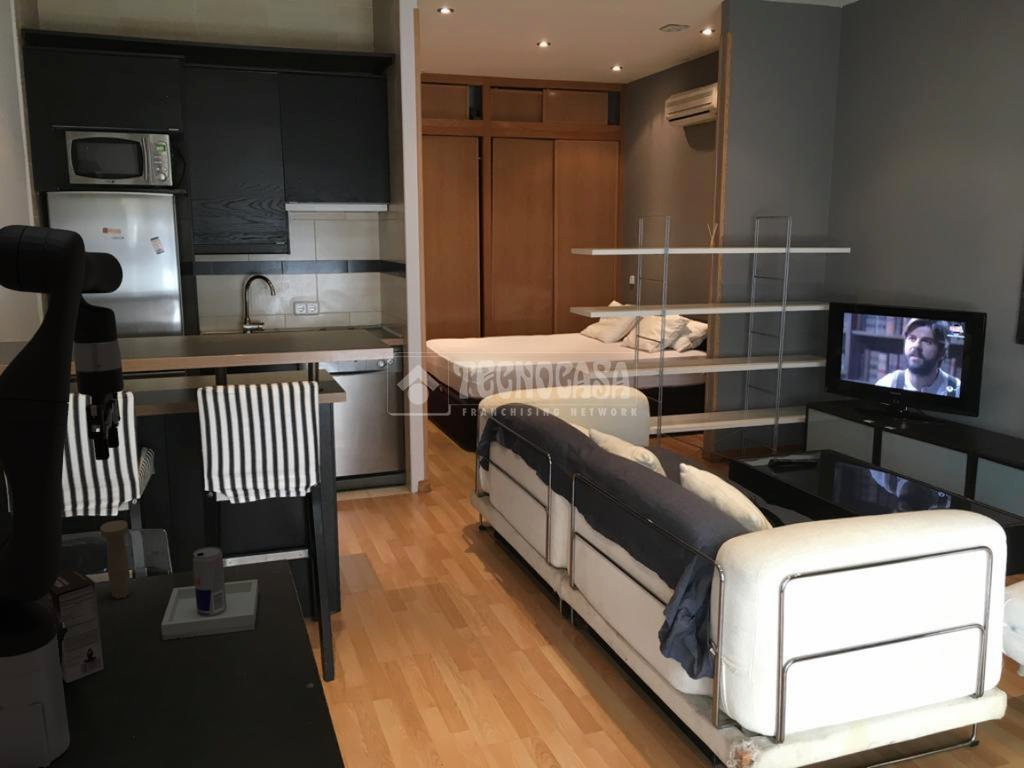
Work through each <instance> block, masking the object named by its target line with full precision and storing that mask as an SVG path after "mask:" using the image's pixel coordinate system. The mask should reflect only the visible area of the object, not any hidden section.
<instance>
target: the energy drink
mask: <svg viewBox="0 0 1024 768" xmlns="http://www.w3.org/2000/svg"><path fill="white" fill-rule="evenodd" d="M192 554H193V555H192V569H193V579H194V586H195V593H196V604H197V612H198V613H199V614H200V615H202V616H215V615H218V614H220V613H222V612H224V610H225V609H226V594H225V583H226V582H225V572H224V570H225V569H224V560H223V552H222V550H221V548H220V547H217V546H207V547H202V548H199V549H196V550H195V551H194V552H193V553H192Z"/></svg>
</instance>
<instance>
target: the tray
mask: <svg viewBox="0 0 1024 768" xmlns="http://www.w3.org/2000/svg"><path fill="white" fill-rule="evenodd" d="M258 584H259V583H258V579H257V578H256V579H248V580H239V581H230V582H225V594H226V609H225V610H224V612H222V613H220V614H218V615H215V616H202V615H200V614H199V613H198V612H197V604H196V593H195V585H192V586H185V587H184V586H183V587H173V589H172V592H171V594H170V598H169V600H168V605H167V606H166V609H165V613H164V617H163V618H162V621H161V625H160V626H161V638H162V641H169V639H171V640H177V638H180V639H188V638H195V637H194V636H196V637H203V636H212V635H218V634H219V635H220V634H228V633H236V632H244V631H252V630H255V628H256V619H257V609H258V601H259V598H258V597H259V585H258ZM187 637H188V638H187Z"/></svg>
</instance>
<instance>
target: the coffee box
mask: <svg viewBox="0 0 1024 768" xmlns="http://www.w3.org/2000/svg"><path fill="white" fill-rule="evenodd" d="M96 591H97V590H96V581H94V580H92V579H91V578H90V577H89V576H87V575H86V574H85V573H83V572H82V571H81V570H79V569H78V568H77V567H76V566H73V567H72V568H68V569H65V570H62V571H59V574H58V577H57V580H56V582H55V584H54V586H53V587H52V589H51V590H50V591H49V592H48V593H47V595H48V598H49V601H50V604H51V607H52V609H53V610H54V612H55V613H56V615H57V618H58V620H59V622H60V623H64V624H65V625H64V626H66V627H67V628H66V629H67V630H68V631H67V632H66V634H64V635H65V636H64V638H63V639H64V640H63V641H62V663H61V673H62V681H64V682H65V683H67V684H69V683H71V682H75V681H77V680H80V679H82V678H84V677H87V676H90V675H92V674H94V673H97V672H99V671H102V670H104V669H105V668H104V659H103V650H102V649H103V648H102V647H103V646H102V641H101V630H100V619H99V612H98V610H99V609H98V602H97V601H98V599H97V592H96Z"/></svg>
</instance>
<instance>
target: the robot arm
mask: <svg viewBox="0 0 1024 768" xmlns="http://www.w3.org/2000/svg"><path fill="white" fill-rule="evenodd" d="M85 245H86V244H85V241H84V239H83V237H82V235H81V234H80V233H78V232H77V231H74V230H69V229H62V228H53V227H46V226H45V227H44V226H38V225H37V226H35V225H25V224H10V225H4V226H3V227H1V228H0V286H2V287H3V288H4V289H8V290H10V291H15V292H22V293H34V294H35V293H36V294H45V295H50V299H49V303H48V307H47V310H46V312H45V315H44V317H43V320H42V322H41V323H40V325H39V327H38V329H37V330H36V331H35V333H34V334H33V336H32V337H31V339H29V340H28V342H27V344H26V345H24V347H23V348H22V349H21V350H20V351H19V353H18V354H17V355H16V356H14V358H13V359H12V360H11V361H10V362H9V363H8V365H7V366H6V367H5V368H4V370H3V371H2V373H1V374H0V466H1V468H2V470H3V473H4V474H5V478H6V480H7V483H8V485H9V488H10V494H11V500H12V517H11V518H12V520H11V528H10V529H8V528H7V529H6V528H0V768H39V767H44V768H47V766H48V767H50V765H51V763H52V762H53V761H54V760H56V759H57V758H59V757H61V755H63V754H64V753H65V751H67V750H68V749H69V747H70V744H71V737H70V730H69V722H68V720H69V719H68V715H67V714H68V713H67V709H66V707H67V705H66V699H65V698H66V697H65V692H64V691H65V690H64V683H63V681H64V680H63V679H62V673H61V665H60V657H59V648H58V640H57V633H56V624H55V618H54V616H53V614H52V613H51V612H50V611H49V610H47V609H46V608H44V607H43V606H41V605H40V602H39V603H38V602H37V601H40V599H41V598H42V597H44V596H45V595H46V594H47V593H48V592H49V591H50V590H51V589H52V587H53V586H54V584H55V582H56V580H57V577H58V574H59V572H61V571H60V570H61V565H62V557H63V556H62V555H63V530H62V529H63V527H62V525H63V524H62V522H63V521H62V520H63V519H62V489H63V488H62V487H63V485H62V484H63V469H64V454H65V443H66V437H67V429H68V421H69V420H68V419H69V411H70V410H69V408H70V398H71V397H70V396H71V381H72V380H71V377H72V376H71V374H72V363H73V362H72V361H73V360H74V370H75V377H76V379H75V380H76V385H77V386H76V387H77V392H78V394H80V395H82V396H90V398H91V399H90V404H87V405H85V412H86V420H87V421H86V422H87V432H88V434H87V437H88V439H89V440H92V441H93V448H94V457H95V460H96V461H107V460H108V459H110V456H111V455H110V449H115V448H119V446H120V438H119V429H118V427H120V426H119V425H120V422H121V413H120V405H119V404H120V403H119V398H118V397H119V392H121V391H123V390H124V389H125V388H124V387H125V385H124V375H123V374H124V373H123V364H122V353H121V348H120V344H119V340H118V331H117V320H116V319H117V318H116V313H115V311H114V310H113V309H112V308H109V307H106V306H99V305H95V304H91V303H89V302H87V301H86V300H85V298H84V296H83V295H86V294H87V295H89V294H90V295H94V294H96V295H97V294H111V293H114V292H116V291H117V290H118V289H119V288H120V286H121V285H122V282H123V279H124V272H123V271H124V270H123V267H122V265H121V262H120V261H119V260H118V258H117V257H116V256H114V255H113V254H111V253H109V252H101V251H97V252H96V251H86V246H85ZM73 358H74V359H73ZM72 359H73V360H72ZM97 429H99V431H97Z"/></svg>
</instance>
